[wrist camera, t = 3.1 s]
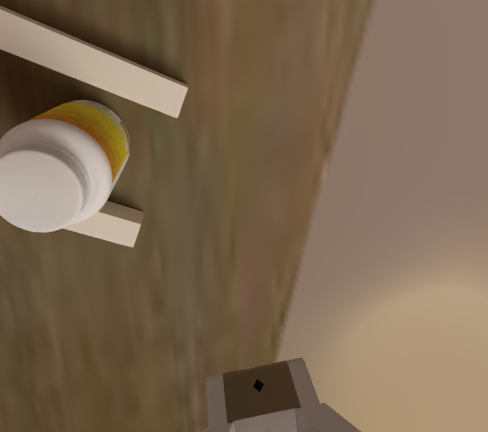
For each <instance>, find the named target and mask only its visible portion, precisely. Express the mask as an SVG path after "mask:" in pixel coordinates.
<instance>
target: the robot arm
mask: <svg viewBox="0 0 488 432" xmlns="http://www.w3.org/2000/svg"><path fill="white" fill-rule="evenodd" d="M206 394H207V416H208V428H204V429H203V430H202V432H361V431H359V430H358V429H357V428H356V427H354V426H353V425H352V424H351V423H349V422H348V421H347V420H345V419H344V418H343V417H342V416H341V415H339V414H338V413H337V412H336V411H334V410H333V409H332V408H331V407H329V406H328V405H327V404H326V403H322V404H320V403H319V400H318V397H317V394H316V392H315V389H314V386H313V384H312V381H311V378H310V375H309V372H308V370H307V367H306V365H305V361H304V360H303V358H297V359H292V360H287V361H282V362H277V363H272V364H268V365H263V366H258V367H255V368H251V369H245V370H239V371H233V372H228V373H223V374H217V375H212V376H207V378H206Z"/></svg>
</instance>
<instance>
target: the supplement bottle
mask: <svg viewBox="0 0 488 432" xmlns="http://www.w3.org/2000/svg"><path fill="white" fill-rule="evenodd" d="M129 152H130V139H129V135H128V132H127V129H126V127H125V125H124V123H123V122H122V121H121V119H120V118H119V117H118V116H117V115H116V114H115V113H114V112H113V111H112V110H110V109H109V108H107V107H106V106H104V105H102V104H99V103H97V102H93V101H88V100H75V101H70V102H66V103H63V104H61V105H59V106H57V107H55V108H53V109H51V110H48V111H46V112H44V113H42V114H40V115H38V116H36V117H34V118H32V119H30V120H27V121H25V122H23V123H21V124H19V125H17V126H15V127H14V128H12V129H11V130H9V131H8V132H7V133H6V134H5V135H4V136H3V137H2V138H1V139H0V215H1V216H2V217H3V218H4V219H6V220H7V221H8V222H10V223H11V224H13V225H15V226H17V227H19V228H22V229H25V230H28V231H33V232H51V231H56V230H59V229H61V228H64V227H66V226H67V225H72V224H76V223H80V222H82V221H85V220H87V219H88V218H90V217H92V216H93V215H94V214H96V213H97V212H98V211H99V210H100V209H101V208H102V207H103V205H104V204H105V203H106V201H107V200H108V198H109V196H110V194H111V192H112V190H113V188H114V186H115V184H116V182H117V180H118V178H119V176H120V174H121V172H122V170H123V168H124V166H125V164H126V162H127V159H128V157H129Z"/></svg>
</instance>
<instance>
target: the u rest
mask: <svg viewBox="0 0 488 432" xmlns="http://www.w3.org/2000/svg"><path fill="white" fill-rule="evenodd" d="M0 49H1V50H4V51H6V52H9V53H11V54H14V55H17V56H19V57H22V58H24V59H27V60H29V61H32V62H34V63H37V64H40V65H42V66H45V67H47V68H50V69H52V70H55V71H57V72H60V73H63V74H65V75H68V76H70V77H73V78H75V79H78V80H80V81H83V82H86V83H88V84H91V85H93V86H96V87H98V88H101V89H103V90H106V91H109V92H111V93H114V94H116V95H119V96H121V97H124V98H127V99H129V100H132V101H134V102H137V103H139V104H142V105H144V106H147V107H150V108H152V109H155V110H157V111H160V112H162V113H165V114H167V115H170V116H173V117H175V118H178V116H179V113H180V110H181V107H182V104H183V101H184V98H185V95H186V92H187V89H188V85H187V84H185V83H182V82H180V81H178V80H175V79H173V78H171V77H168V76H166V75H163V74H161V73H159V72H156V71H154V70H152V69H149V68H147V67H145V66H142V65H140V64H137V63H135V62H133V61H130V60H128V59H126V58H123V57H121V56H118V55H116V54H114V53H111V52H109V51H107V50H104V49H102V48H100V47H97V46H95V45H92V44H90V43H88V42H85V41H83V40H81V39H78V38H76V37H73V36H71V35H69V34H66V33H64V32H62V31H59V30H57V29H55V28H52V27H50V26H47V25H45V24H43V23H40V22H38V21H36V20H33V19H31V18H28V17H26V16H24V15H21V14H19V13H17V12H14V11H12V10H10V9H7V8H5V7H2V6H0ZM143 214H144V212H142V211H139V210H136V209H133V208H129V207H126V206H123V205H120V204H116V203H113V202H110V201H106V203H105V204H104V205H103V207H102V208H101V209H100V210H99V211H98V212H97V213H96V214H94V215H93V216H92V217H90V218H88V219H87V220H85V221H82V222H80V223H76V224H72V225H67V226H66V227H64V228H63V229H67V230H71V231H74V232H78V233H81V234H85V235H89V236H92V237H96V238H100V239H103V240H107V241H111V242H114V243H118V244H121V245H125V246H129V247H132V248H133V246H134V243H135V240H136V238H137V235H138V232H139V229H140V226H141V222H142V218H143Z"/></svg>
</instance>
